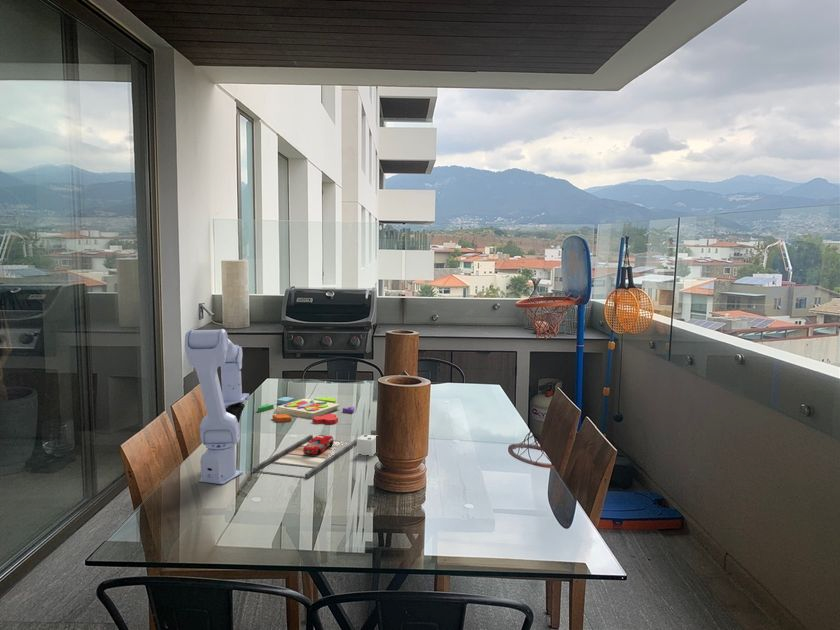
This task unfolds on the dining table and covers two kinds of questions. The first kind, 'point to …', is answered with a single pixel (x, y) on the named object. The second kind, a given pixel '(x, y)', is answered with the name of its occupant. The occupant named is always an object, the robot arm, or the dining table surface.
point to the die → (366, 445)
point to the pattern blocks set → (306, 409)
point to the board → (304, 458)
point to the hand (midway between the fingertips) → (233, 428)
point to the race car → (318, 444)
